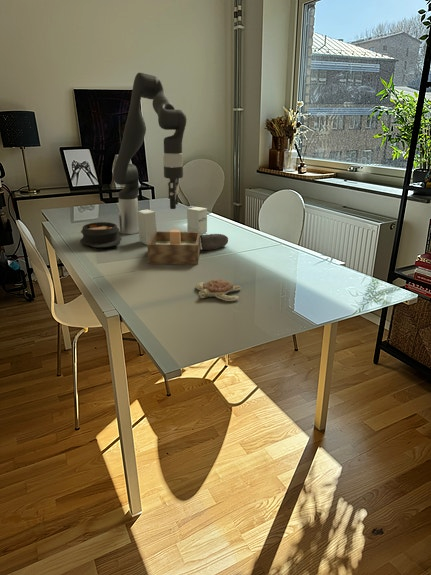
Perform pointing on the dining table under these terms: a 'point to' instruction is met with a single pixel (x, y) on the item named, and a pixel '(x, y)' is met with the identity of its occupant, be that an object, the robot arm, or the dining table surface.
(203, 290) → the decorative turtle
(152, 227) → the skincare box
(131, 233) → the robot arm
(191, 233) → the walnut box
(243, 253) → the dining table surface
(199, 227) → the supplement box
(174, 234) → the terracotta peg
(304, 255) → the dining table surface
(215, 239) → the perforated stone tool
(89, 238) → the casserole
